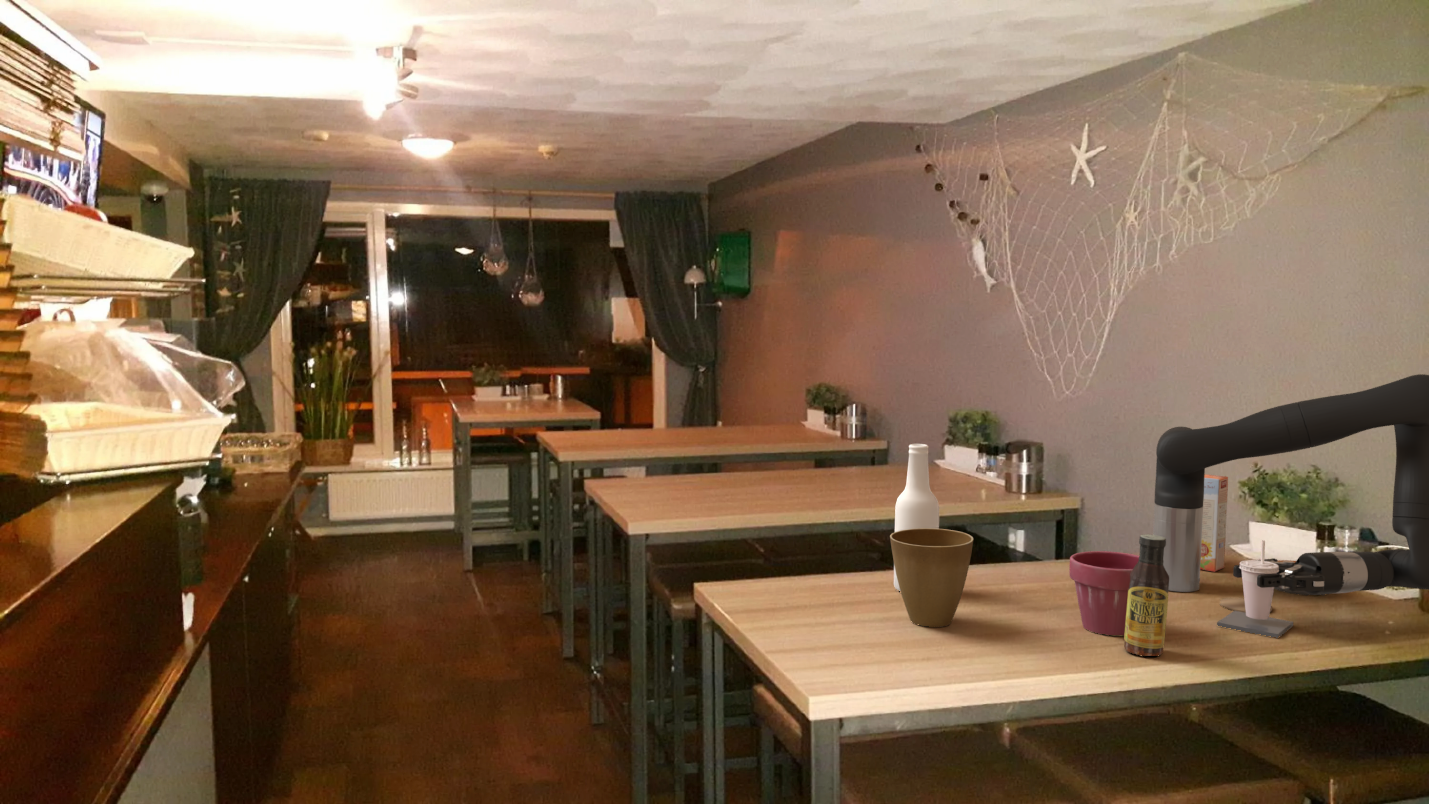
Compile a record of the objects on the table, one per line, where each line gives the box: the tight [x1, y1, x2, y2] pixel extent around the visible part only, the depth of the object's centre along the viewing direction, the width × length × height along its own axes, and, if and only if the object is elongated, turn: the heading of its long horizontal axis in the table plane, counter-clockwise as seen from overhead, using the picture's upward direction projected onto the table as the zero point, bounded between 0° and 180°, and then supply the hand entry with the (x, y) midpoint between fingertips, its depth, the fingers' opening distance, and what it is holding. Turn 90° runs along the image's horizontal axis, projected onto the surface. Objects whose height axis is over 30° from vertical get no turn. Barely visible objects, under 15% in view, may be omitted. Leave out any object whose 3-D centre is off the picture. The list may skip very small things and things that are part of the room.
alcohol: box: [893, 443, 940, 591], centre depth 208 cm, size 9×9×30 cm
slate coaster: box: [1216, 611, 1294, 639], centre depth 187 cm, size 10×10×1 cm
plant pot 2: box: [1068, 550, 1140, 636], centre depth 184 cm, size 14×14×13 cm
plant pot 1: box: [889, 528, 974, 628], centre depth 188 cm, size 15×15×16 cm
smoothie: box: [1239, 539, 1279, 619], centre depth 186 cm, size 6×6×14 cm
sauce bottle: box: [1123, 534, 1169, 657], centre depth 171 cm, size 7×6×20 cm
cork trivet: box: [1219, 596, 1273, 613], centre depth 199 cm, size 9×9×1 cm
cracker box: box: [1200, 473, 1229, 573], centre depth 231 cm, size 14×6×21 cm, turn 44°
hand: (1246, 576), depth 186 cm, fingers closed on smoothie, 6 cm apart
